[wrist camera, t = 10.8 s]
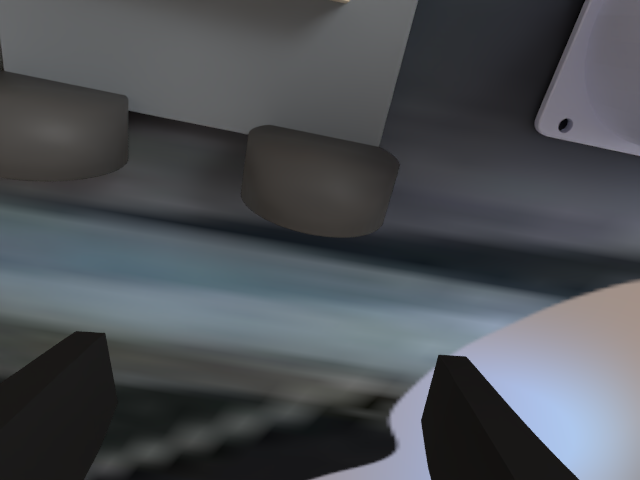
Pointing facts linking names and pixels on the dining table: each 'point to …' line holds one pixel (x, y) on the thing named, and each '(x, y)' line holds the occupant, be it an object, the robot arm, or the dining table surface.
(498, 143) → the dining table surface
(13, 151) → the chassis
